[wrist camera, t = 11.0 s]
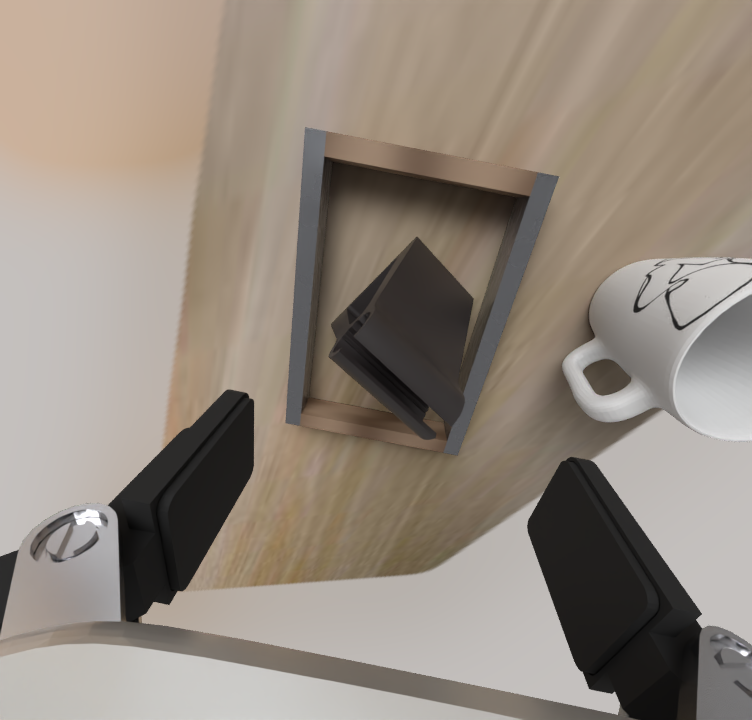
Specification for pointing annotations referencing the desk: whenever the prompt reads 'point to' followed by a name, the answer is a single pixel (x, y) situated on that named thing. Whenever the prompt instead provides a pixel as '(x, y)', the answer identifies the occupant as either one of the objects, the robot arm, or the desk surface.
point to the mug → (674, 344)
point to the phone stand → (408, 339)
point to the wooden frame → (496, 304)
